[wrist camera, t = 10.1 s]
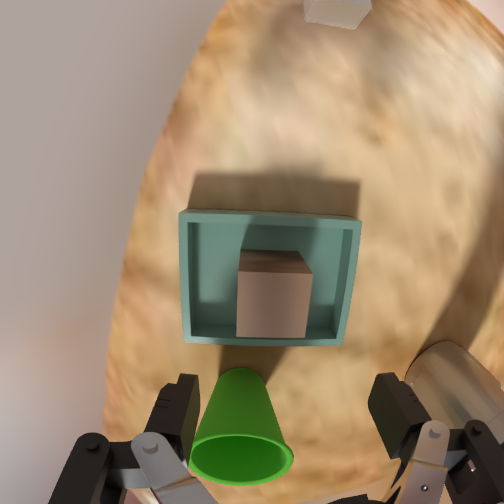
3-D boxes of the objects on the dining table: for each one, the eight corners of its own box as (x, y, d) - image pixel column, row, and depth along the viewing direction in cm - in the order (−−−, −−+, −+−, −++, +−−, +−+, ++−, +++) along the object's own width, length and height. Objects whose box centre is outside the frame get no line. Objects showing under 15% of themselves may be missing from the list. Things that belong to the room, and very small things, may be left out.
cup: (256, 338, 28) (260, 419, 17) (295, 393, 30) (310, 469, 19) (183, 370, 29) (161, 447, 18) (228, 419, 31) (223, 492, 20)
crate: (349, 216, 25) (362, 221, 22) (333, 329, 28) (342, 344, 25) (186, 208, 24) (178, 213, 22) (189, 326, 27) (183, 342, 24)
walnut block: (298, 251, 25) (313, 273, 19) (293, 303, 26) (304, 337, 20) (240, 248, 25) (238, 271, 19) (238, 302, 26) (236, 336, 20)
